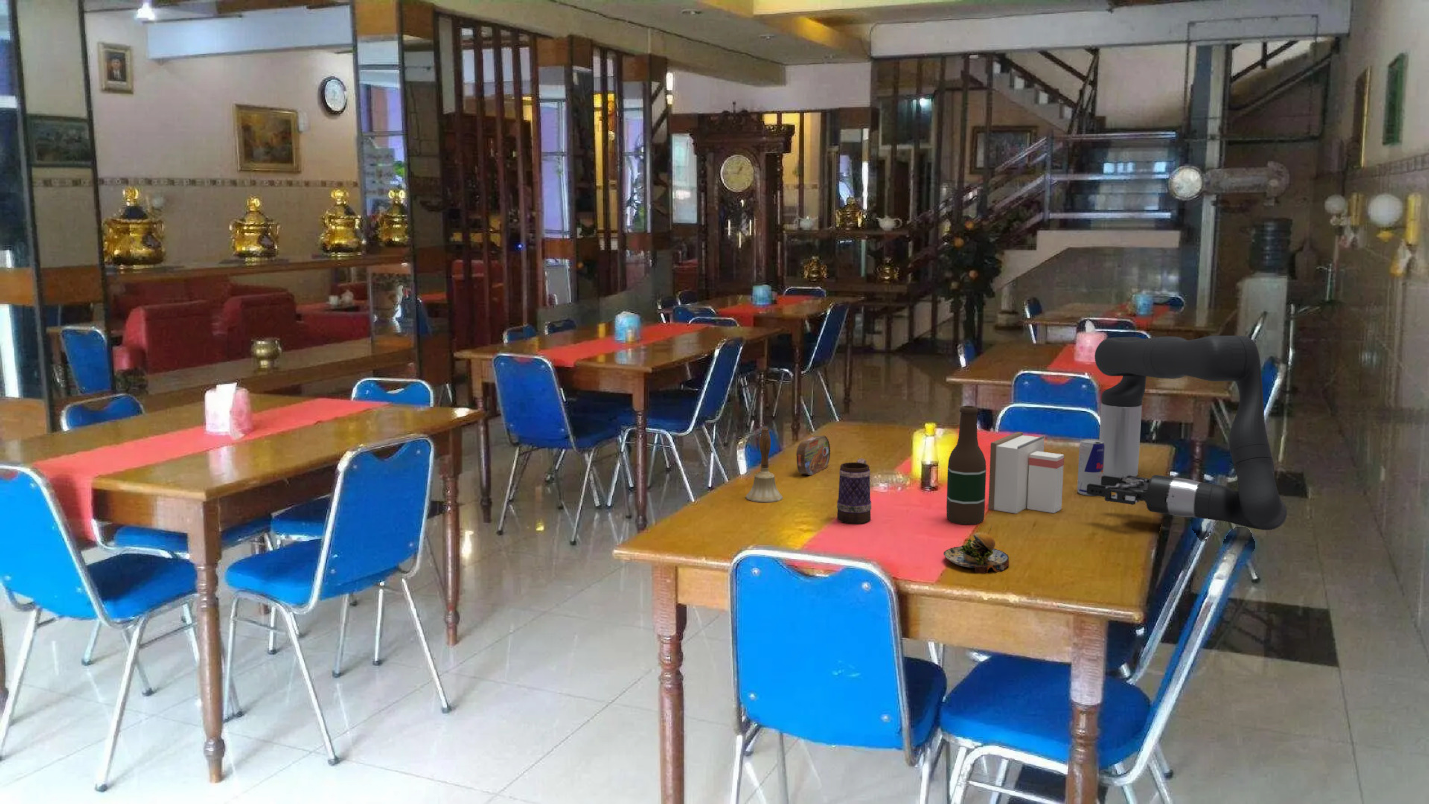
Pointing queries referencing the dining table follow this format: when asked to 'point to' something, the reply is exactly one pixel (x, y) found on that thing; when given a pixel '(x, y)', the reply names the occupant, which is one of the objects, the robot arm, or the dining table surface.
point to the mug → (854, 493)
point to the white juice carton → (1045, 481)
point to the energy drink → (1090, 464)
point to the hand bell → (764, 475)
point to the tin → (813, 455)
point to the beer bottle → (966, 473)
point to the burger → (979, 554)
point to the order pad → (1011, 471)
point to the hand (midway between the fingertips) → (1094, 484)
